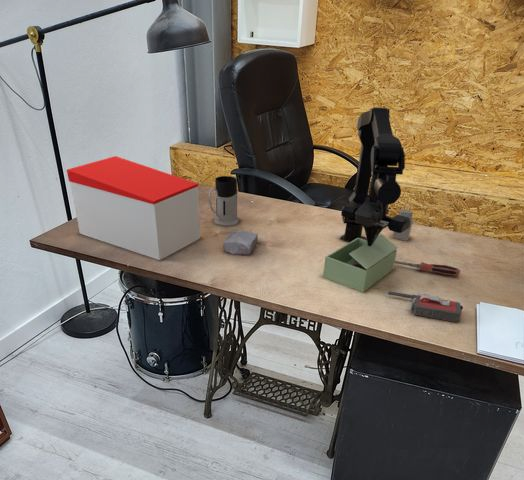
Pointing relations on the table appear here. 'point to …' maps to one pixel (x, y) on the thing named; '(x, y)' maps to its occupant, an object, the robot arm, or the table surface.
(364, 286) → the carton
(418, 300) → the walkie-talkie
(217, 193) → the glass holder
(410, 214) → the power adapter
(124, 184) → the red-lidded white box
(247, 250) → the stone block
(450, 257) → the table surface
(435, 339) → the table surface
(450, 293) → the table surface
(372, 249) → the flap
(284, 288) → the table surface
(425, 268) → the screwdriver
